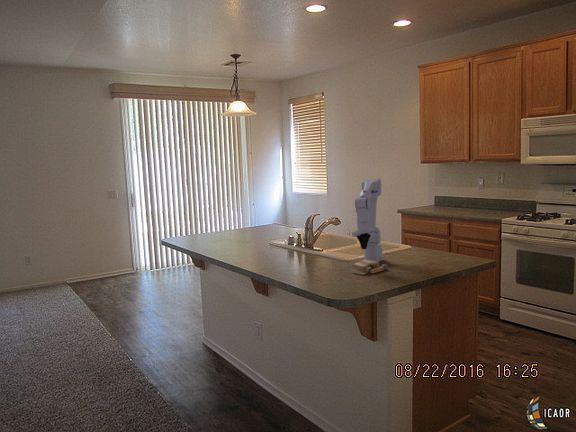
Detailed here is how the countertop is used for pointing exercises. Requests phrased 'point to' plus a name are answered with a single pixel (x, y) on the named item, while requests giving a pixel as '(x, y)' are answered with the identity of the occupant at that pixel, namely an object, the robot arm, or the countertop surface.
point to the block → (364, 266)
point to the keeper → (379, 269)
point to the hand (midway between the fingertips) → (364, 248)
